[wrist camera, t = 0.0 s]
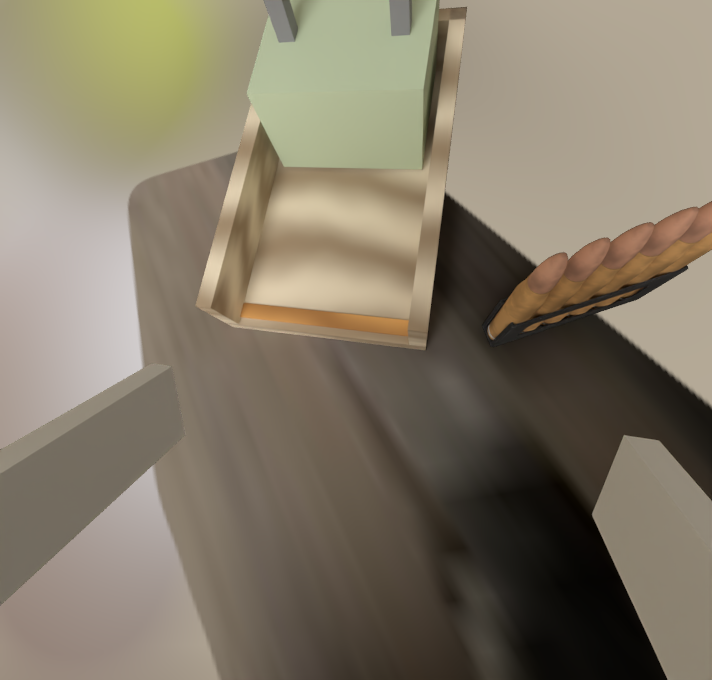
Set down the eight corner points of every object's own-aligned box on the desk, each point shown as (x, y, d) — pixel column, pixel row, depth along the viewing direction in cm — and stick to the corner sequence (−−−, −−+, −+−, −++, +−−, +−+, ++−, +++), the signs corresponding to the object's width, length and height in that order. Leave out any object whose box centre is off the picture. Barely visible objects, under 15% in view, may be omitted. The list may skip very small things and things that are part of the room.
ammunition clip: (490, 347, 25) (551, 282, 14) (481, 324, 26) (531, 243, 14) (639, 298, 24) (834, 185, 13) (625, 276, 25) (802, 147, 14)
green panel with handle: (422, 169, 28) (427, -117, 13) (283, 166, 31) (158, -79, 16) (435, 70, 30) (453, -271, 16) (305, 75, 33) (213, -216, 18)
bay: (425, 350, 26) (427, 332, 21) (233, 326, 29) (195, 306, 24) (459, 72, 32) (467, 6, 27) (294, 78, 35) (274, 20, 30)
